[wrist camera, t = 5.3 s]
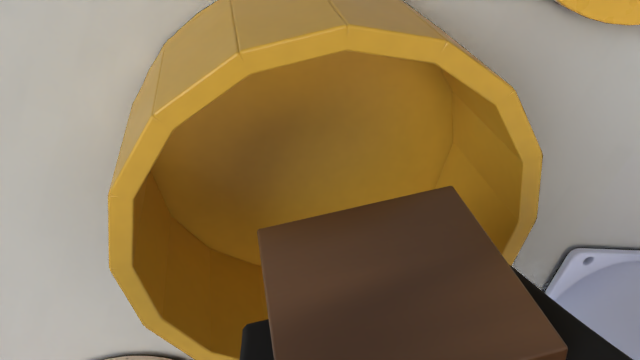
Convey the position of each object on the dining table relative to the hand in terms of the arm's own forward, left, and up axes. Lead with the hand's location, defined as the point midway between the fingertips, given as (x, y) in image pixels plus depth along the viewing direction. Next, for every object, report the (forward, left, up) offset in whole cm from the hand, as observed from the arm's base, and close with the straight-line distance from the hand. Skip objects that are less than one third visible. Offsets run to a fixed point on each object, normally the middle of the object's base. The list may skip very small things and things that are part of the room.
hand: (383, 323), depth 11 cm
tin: (0, +1, -9) cm, 9 cm away
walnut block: (0, 0, -1) cm, 1 cm away
